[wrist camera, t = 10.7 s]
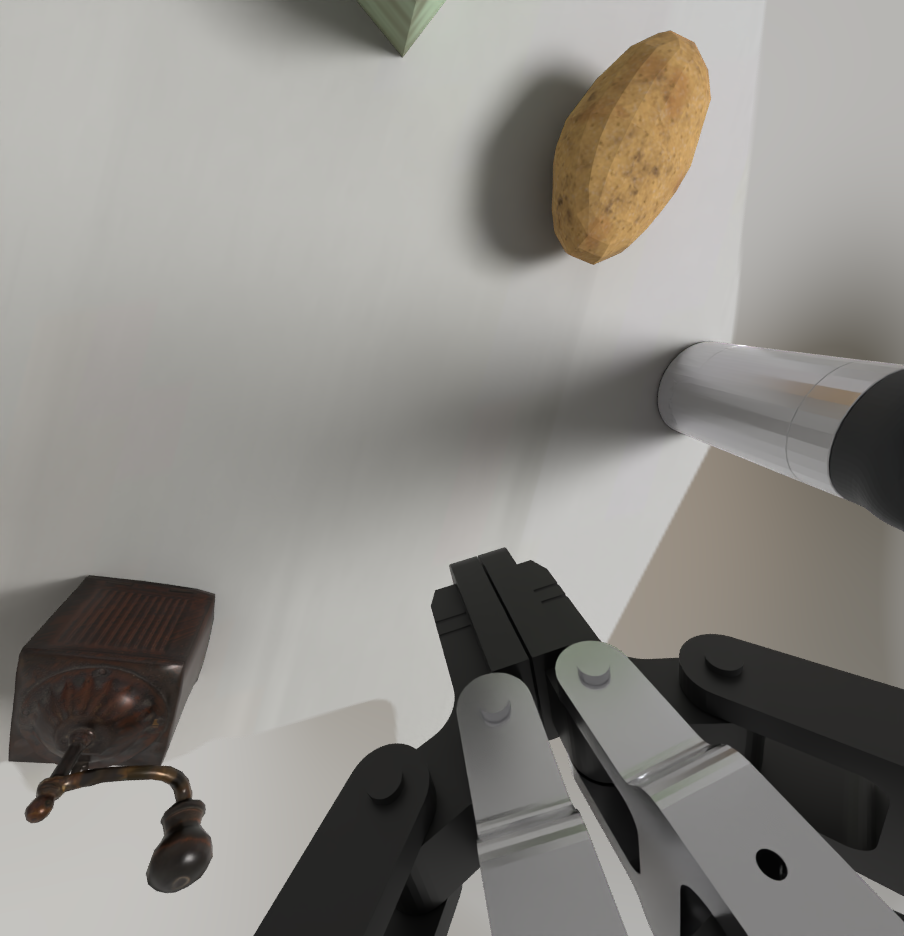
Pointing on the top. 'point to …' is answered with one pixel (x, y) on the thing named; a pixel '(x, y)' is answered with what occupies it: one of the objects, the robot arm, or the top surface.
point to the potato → (628, 146)
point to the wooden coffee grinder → (117, 703)
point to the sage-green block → (401, 19)
